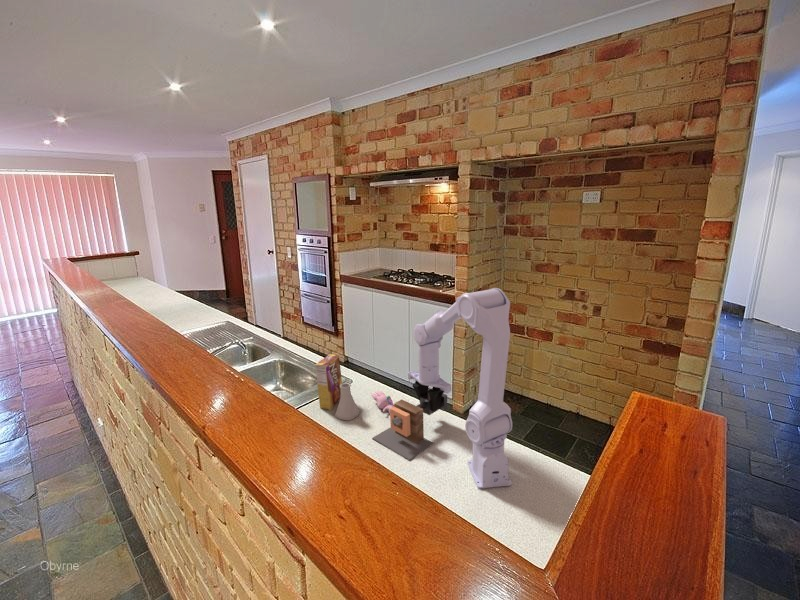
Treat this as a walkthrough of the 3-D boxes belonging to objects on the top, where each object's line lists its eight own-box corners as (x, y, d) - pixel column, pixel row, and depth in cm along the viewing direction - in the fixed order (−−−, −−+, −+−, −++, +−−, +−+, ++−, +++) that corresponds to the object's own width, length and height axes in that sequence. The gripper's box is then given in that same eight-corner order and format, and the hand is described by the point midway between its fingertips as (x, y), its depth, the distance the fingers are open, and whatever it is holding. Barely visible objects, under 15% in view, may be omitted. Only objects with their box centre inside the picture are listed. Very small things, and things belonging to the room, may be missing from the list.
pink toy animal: (407, 419, 120) (380, 394, 131) (409, 403, 118) (381, 379, 129) (391, 426, 117) (365, 400, 128) (392, 409, 114) (365, 384, 126)
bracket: (416, 444, 105) (415, 413, 102) (395, 432, 110) (394, 403, 108) (423, 439, 107) (423, 409, 104) (402, 428, 112) (401, 399, 110)
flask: (330, 417, 120) (328, 387, 117) (344, 406, 126) (342, 378, 124) (350, 423, 116) (348, 392, 114) (363, 411, 123) (361, 382, 120)
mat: (409, 460, 98) (409, 459, 98) (372, 439, 108) (372, 437, 108) (433, 444, 105) (433, 442, 105) (396, 424, 115) (396, 423, 115)
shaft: (404, 435, 101) (404, 420, 100) (386, 426, 106) (385, 411, 105) (447, 409, 114) (447, 395, 113) (429, 401, 118) (428, 387, 117)
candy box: (332, 395, 134) (329, 353, 130) (343, 397, 132) (340, 354, 129) (318, 408, 126) (314, 363, 122) (330, 410, 124) (326, 365, 120)
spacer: (406, 436, 103) (406, 416, 101) (390, 428, 107) (389, 408, 105) (410, 434, 104) (409, 414, 102) (394, 426, 108) (393, 406, 106)
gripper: (458, 366, 108) (457, 410, 111) (418, 353, 118) (419, 394, 121) (442, 374, 103) (442, 420, 106) (402, 360, 113) (403, 403, 116)
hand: (429, 407), depth 113 cm, fingers closed on shaft, 3 cm apart
